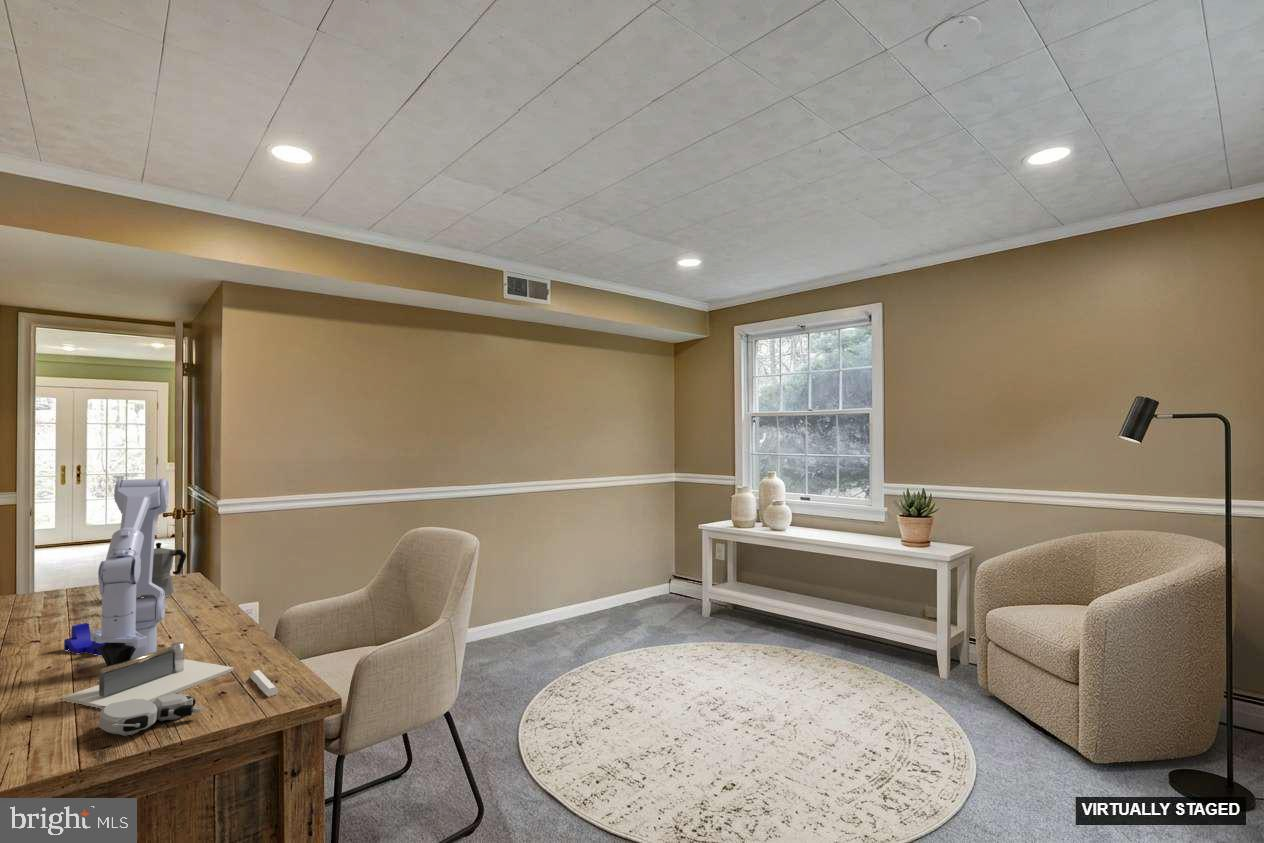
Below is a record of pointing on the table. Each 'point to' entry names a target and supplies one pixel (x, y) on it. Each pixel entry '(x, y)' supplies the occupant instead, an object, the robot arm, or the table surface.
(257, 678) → the marker
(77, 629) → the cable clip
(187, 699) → the robot toy
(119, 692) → the gate board
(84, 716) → the table surface
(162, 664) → the gate
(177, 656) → the gate post
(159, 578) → the coffeepot
